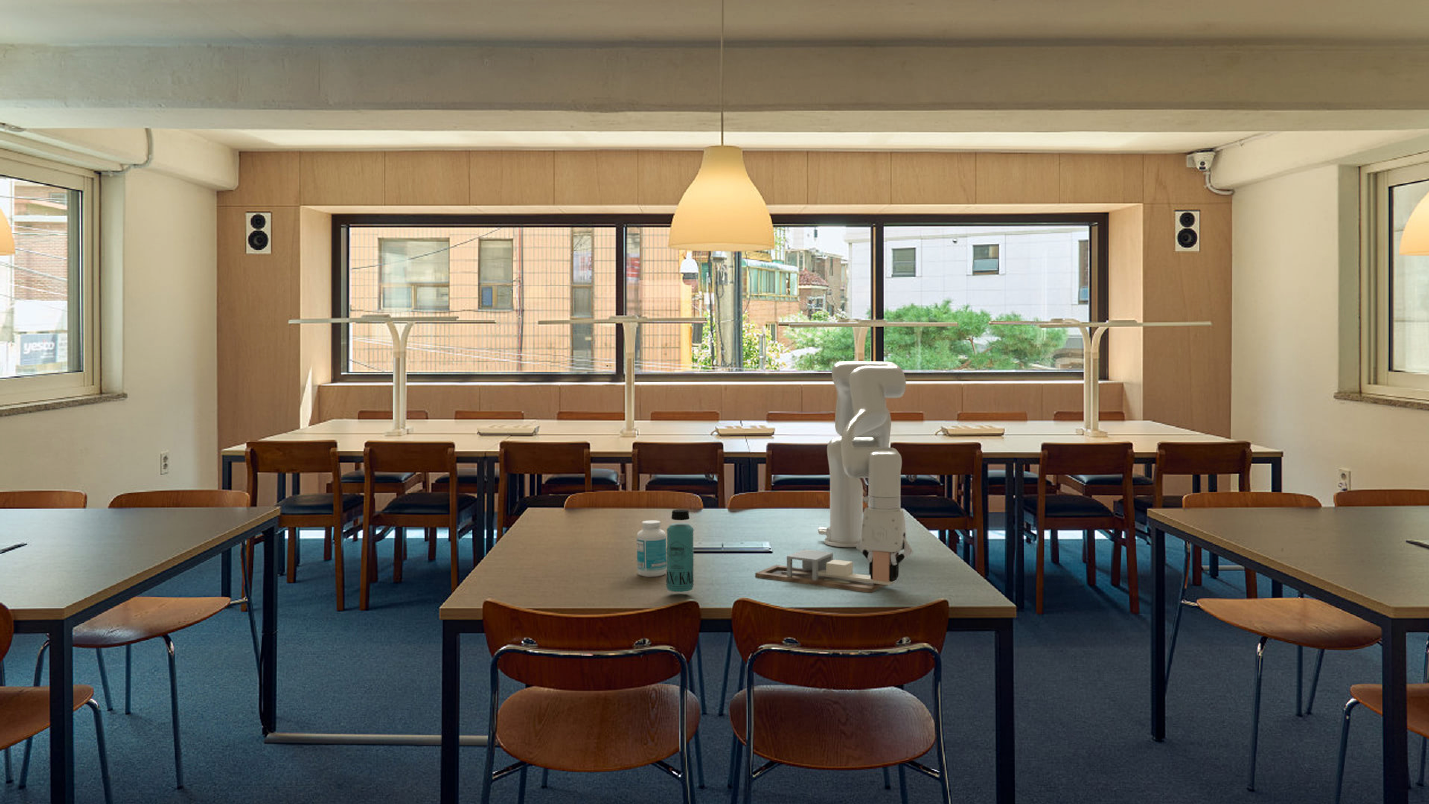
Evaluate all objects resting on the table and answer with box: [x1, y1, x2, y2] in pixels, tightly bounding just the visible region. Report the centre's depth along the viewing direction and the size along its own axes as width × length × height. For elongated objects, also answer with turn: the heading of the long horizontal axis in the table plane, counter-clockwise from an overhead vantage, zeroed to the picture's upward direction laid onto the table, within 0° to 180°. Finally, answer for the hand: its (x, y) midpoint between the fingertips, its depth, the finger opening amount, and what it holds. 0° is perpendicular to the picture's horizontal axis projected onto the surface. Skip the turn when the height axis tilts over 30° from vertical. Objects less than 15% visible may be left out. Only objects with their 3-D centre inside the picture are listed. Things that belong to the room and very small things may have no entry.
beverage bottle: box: [665, 508, 695, 593], centre depth 227 cm, size 6×7×20 cm
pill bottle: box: [636, 519, 667, 578], centre depth 249 cm, size 8×7×14 cm
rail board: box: [754, 564, 885, 594], centre depth 243 cm, size 31×11×2 cm, turn 58°
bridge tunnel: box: [786, 549, 834, 580], centre depth 244 cm, size 8×10×5 cm
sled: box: [818, 551, 895, 586], centre depth 238 cm, size 19×5×8 cm, turn 58°
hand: (883, 578), depth 234 cm, fingers closed on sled, 4 cm apart
